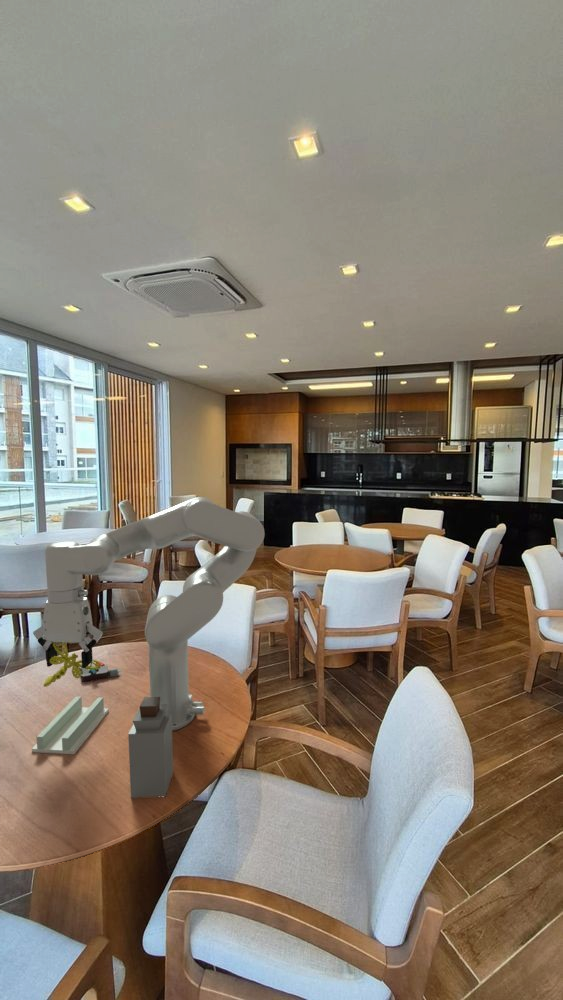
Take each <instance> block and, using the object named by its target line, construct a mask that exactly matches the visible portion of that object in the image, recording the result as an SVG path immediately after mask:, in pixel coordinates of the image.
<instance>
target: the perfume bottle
mask: <svg viewBox="0 0 563 1000" xmlns="http://www.w3.org/2000/svg"><path fill="white" fill-rule="evenodd" d="M166 707H167V704H160V697H150V696H144V697H143V699H142V701H141V703H140V705H139V707H138V710H137V712H136V713H135V715H134V717H133V719H132V723H133V724H132V726H131V728H130V730H129V731H128V733H127V734H128V735H127V736H128V756H129V757H128V758H129V762H128V764H129V781H130V782H129V783H130V784H129V785H130V787H129V788H130V798H131V799H138V798H137V797H158V798H162V797H161V796H164V797H163V798H166V797H167V794H168V791H167V790H169V787H170V784H171V780H172V776H173V774H174V758H173V757H174V752H173V751H174V750H173V731H172V712H166ZM166 793H167V794H166ZM159 796H160V797H159ZM165 796H166V797H165ZM135 797H136V798H135Z"/></svg>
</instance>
